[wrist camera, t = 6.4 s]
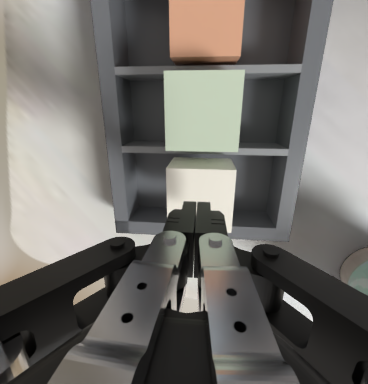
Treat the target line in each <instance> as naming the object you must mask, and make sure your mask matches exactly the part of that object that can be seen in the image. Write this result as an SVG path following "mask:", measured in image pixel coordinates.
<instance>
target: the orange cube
mask: <svg viewBox="0 0 368 384" xmlns="http://www.w3.org/2000/svg"><path fill="white" fill-rule="evenodd" d="M244 7H245V0H169V32H170V58H171V60H172V61H173V62H174V64H175V65H176V66H201V65H236V63H237V61H238V60H239V58H240V56H241V46H242V33H243V20H244Z"/></svg>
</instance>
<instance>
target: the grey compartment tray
mask: <svg viewBox="0 0 368 384" xmlns="http://www.w3.org/2000/svg"><path fill="white" fill-rule="evenodd" d="M90 1H91V10H92V19H93V28H94V37H95V46H96V55H97V64H98V73H99V82H100V91H101V100H102V109H103V118H104V127H105V136H106V144H107V153H108V162H109V171H110V180H111V189H112V198H113V207H114V216H115V225H116V233H132V234H151V235H157V234H158V233H161V232H162V231H163V228H164V226H165V223H166V220H167V192H166V167H167V166H168V165H169V163H170V162H171V160H172V159H173V158H174V157H186V158H231V160H232V162H233V164H234V166H235V168H236V170H237V172H236V184H235V195H234V207H233V219H232V231H231V233H227V234H228V237H229V238H230V239H245V240H264V241H283V242H289V238H290V232H291V227H292V221H293V216H294V211H295V205H296V200H297V194H298V189H299V184H300V178H301V173H302V167H303V162H304V156H305V151H306V146H307V140H308V135H309V129H310V124H311V119H312V113H313V108H314V102H315V97H316V92H317V86H318V81H319V75H320V70H321V64H322V59H323V54H324V48H325V43H326V37H327V32H328V27H329V21H330V16H331V10H332V5H333V0H245V7H244V20H243V33H242V46H241V56H240V58H239V60H238V61H237V63H236V65H201V66H176V65H175V64H174V62H173V61H172V60H171V58H170V32H169V0H90ZM176 70H245V77H244V88H243V100H242V112H241V124H240V136H239V148H238V152H199V151H165V110H164V71H176Z"/></svg>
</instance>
